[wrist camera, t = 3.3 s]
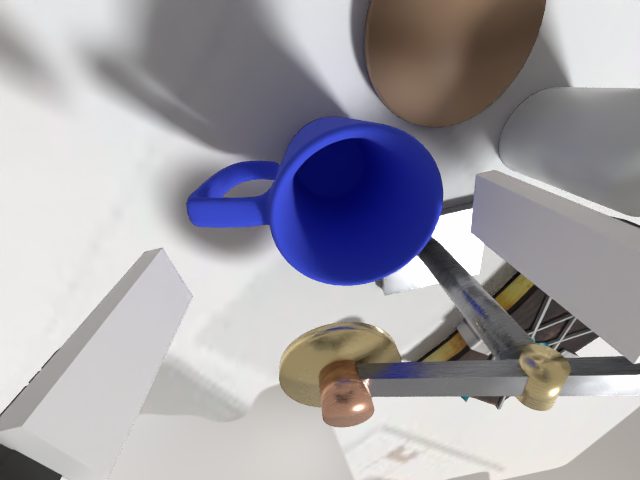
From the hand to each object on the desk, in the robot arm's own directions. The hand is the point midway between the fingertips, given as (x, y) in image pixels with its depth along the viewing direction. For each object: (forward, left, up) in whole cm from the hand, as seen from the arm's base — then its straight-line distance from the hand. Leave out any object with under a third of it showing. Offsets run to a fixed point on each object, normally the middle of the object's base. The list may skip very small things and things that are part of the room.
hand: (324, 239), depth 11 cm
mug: (0, 0, -11) cm, 11 cm away
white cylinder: (+2, +19, -11) cm, 22 cm away
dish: (-6, +11, -11) cm, 17 cm away
